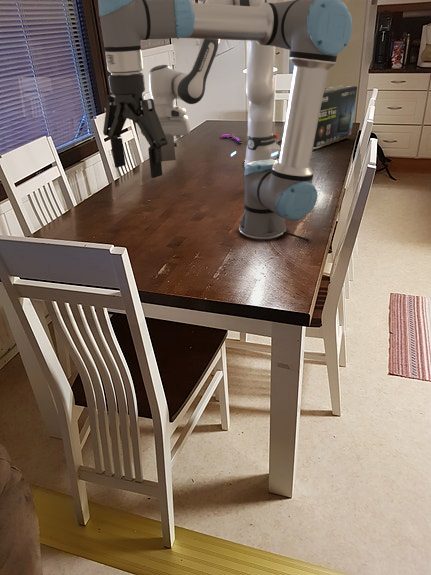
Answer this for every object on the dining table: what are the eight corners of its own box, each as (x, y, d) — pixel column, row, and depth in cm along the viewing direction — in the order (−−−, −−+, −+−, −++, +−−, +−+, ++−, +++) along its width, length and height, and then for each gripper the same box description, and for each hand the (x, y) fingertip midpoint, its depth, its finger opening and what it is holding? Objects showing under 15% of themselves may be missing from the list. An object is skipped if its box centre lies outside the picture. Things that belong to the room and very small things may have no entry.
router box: (314, 151, 231) (318, 94, 217) (296, 148, 237) (299, 92, 224) (352, 138, 251) (358, 85, 238) (335, 135, 258) (340, 83, 245)
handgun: (221, 137, 264) (220, 133, 263) (234, 136, 265) (233, 132, 264) (228, 145, 247) (228, 142, 246) (242, 144, 248) (242, 140, 247)
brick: (160, 158, 193) (157, 132, 187) (174, 156, 193) (172, 131, 188) (161, 161, 188) (158, 135, 183) (175, 160, 189) (173, 134, 184)
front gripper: (78, 72, 103) (94, 165, 114) (150, 78, 88) (161, 185, 99) (105, 68, 108) (118, 159, 118) (178, 73, 93) (185, 176, 104)
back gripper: (135, 112, 181) (140, 148, 188) (185, 112, 176) (188, 148, 184) (141, 109, 186) (145, 144, 193) (189, 109, 182) (192, 144, 189)
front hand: (138, 171), depth 109 cm, fingers open, 13 cm apart
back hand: (166, 146), depth 188 cm, fingers closed on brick, 7 cm apart
